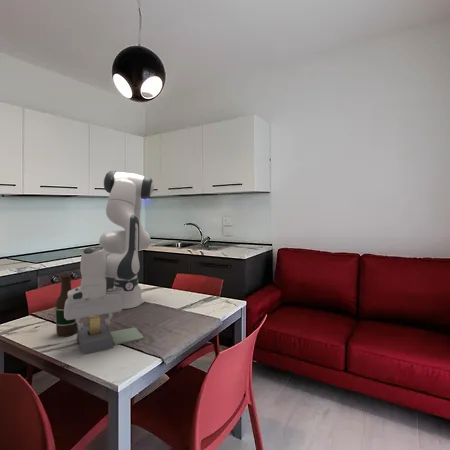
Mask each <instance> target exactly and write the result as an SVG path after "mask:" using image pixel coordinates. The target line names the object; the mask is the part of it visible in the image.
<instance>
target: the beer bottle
mask: <svg viewBox="0 0 450 450" xmlns="http://www.w3.org/2000/svg"><path fill="white" fill-rule="evenodd" d="M71 275H72V274H70V273H63V274H61V275H60V278H61V281H60V282H61V285H60V286H61V287H60V294H59V296H58V297H57V299H56V303H55V319H56V320H55V326H56V329H55V331H56V335H57V336H58V337H64V338H65V337H66V338H67V337H70V336H73V335H75V334H77V328H78V324H77V323H76V321H75V319H72V320H66V319H65V318H64V306H65V301H66V300H67V298H68V296H67V293H68V291H69V290H72V281H71V278H72V276H71Z"/></svg>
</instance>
